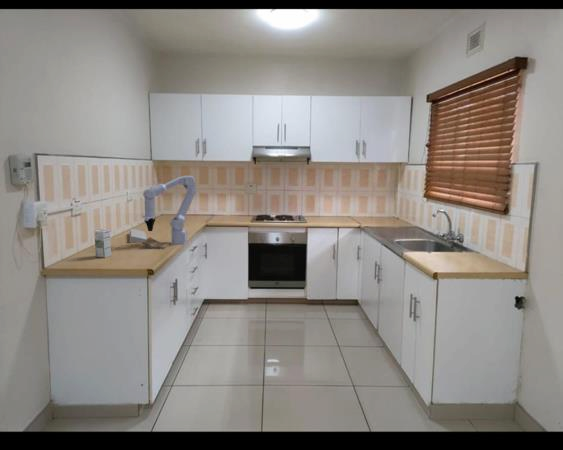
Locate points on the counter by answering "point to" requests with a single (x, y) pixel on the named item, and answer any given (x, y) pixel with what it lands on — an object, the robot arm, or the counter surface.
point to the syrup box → (102, 243)
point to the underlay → (149, 247)
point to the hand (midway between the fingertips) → (150, 231)
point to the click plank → (150, 242)
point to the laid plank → (162, 245)
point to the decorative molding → (137, 236)
